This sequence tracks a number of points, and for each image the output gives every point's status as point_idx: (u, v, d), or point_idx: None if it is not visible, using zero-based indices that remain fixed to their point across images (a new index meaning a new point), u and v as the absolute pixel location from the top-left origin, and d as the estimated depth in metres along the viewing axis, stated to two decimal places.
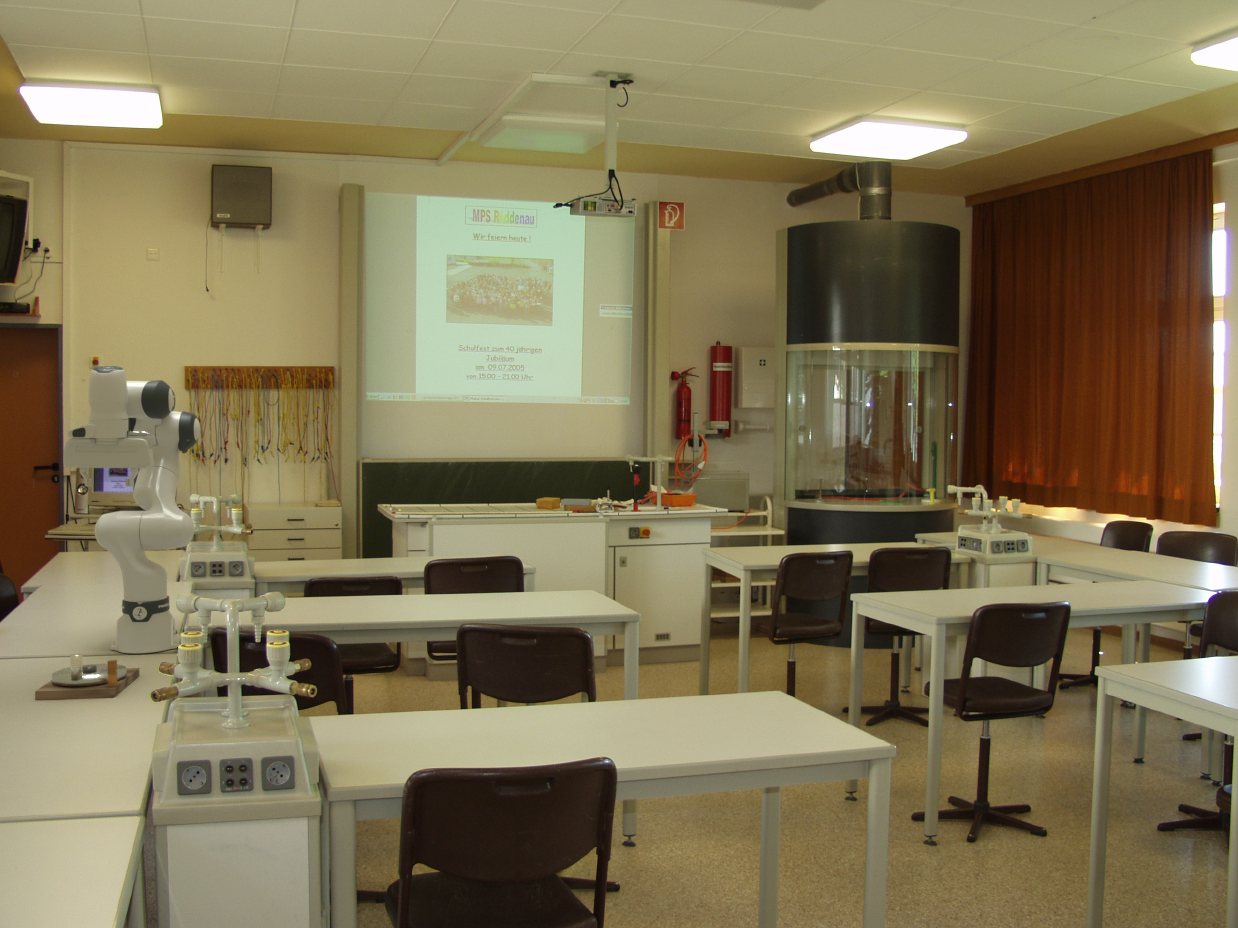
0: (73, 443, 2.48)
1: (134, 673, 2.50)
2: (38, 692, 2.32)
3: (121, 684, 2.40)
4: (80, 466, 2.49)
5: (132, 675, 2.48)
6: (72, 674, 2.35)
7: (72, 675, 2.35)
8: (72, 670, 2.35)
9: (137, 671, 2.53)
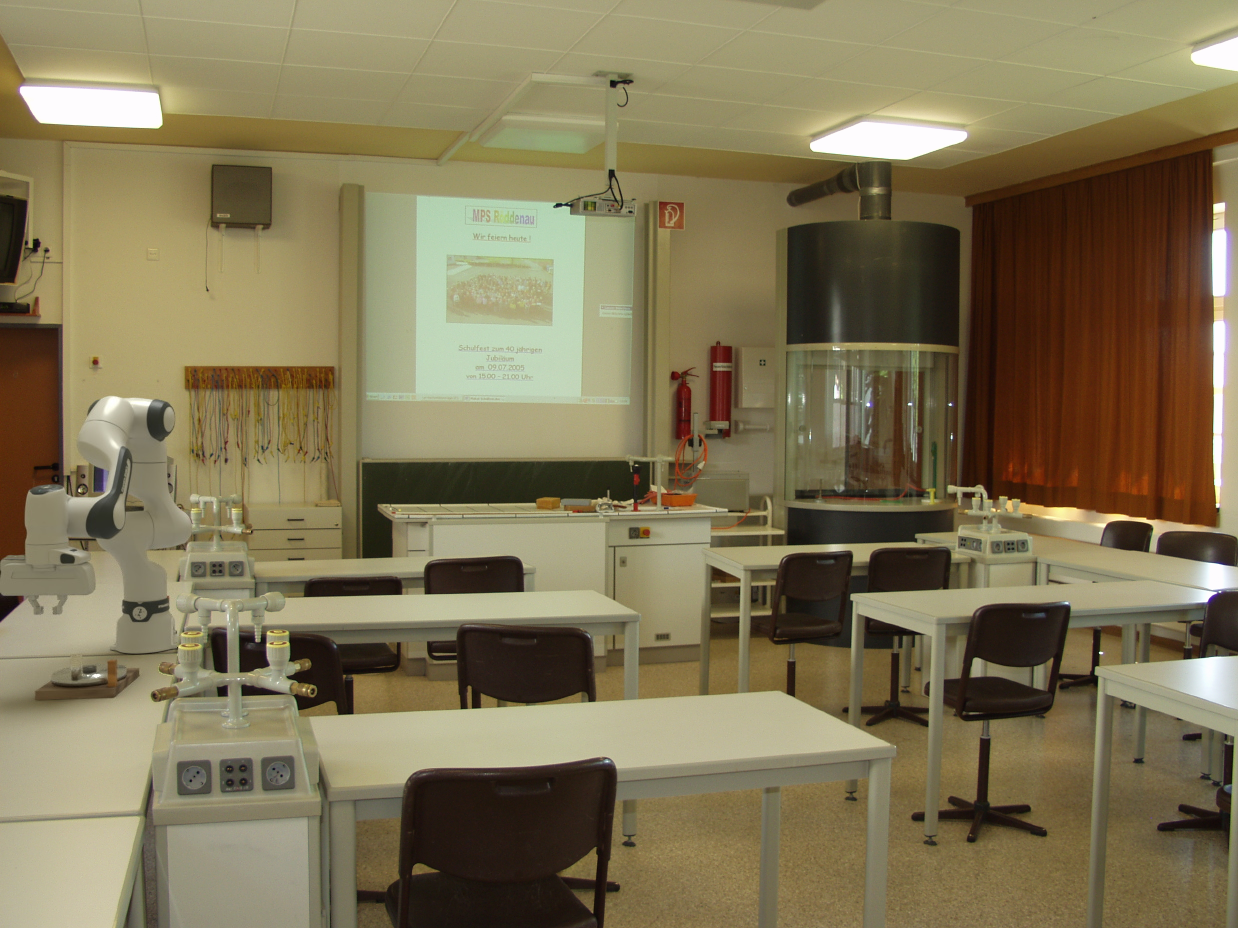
0: None
1: (134, 673, 2.50)
2: (38, 692, 2.32)
3: (121, 684, 2.40)
4: None
5: (132, 675, 2.48)
6: (72, 674, 2.35)
7: (72, 675, 2.35)
8: (72, 670, 2.35)
9: (137, 671, 2.53)
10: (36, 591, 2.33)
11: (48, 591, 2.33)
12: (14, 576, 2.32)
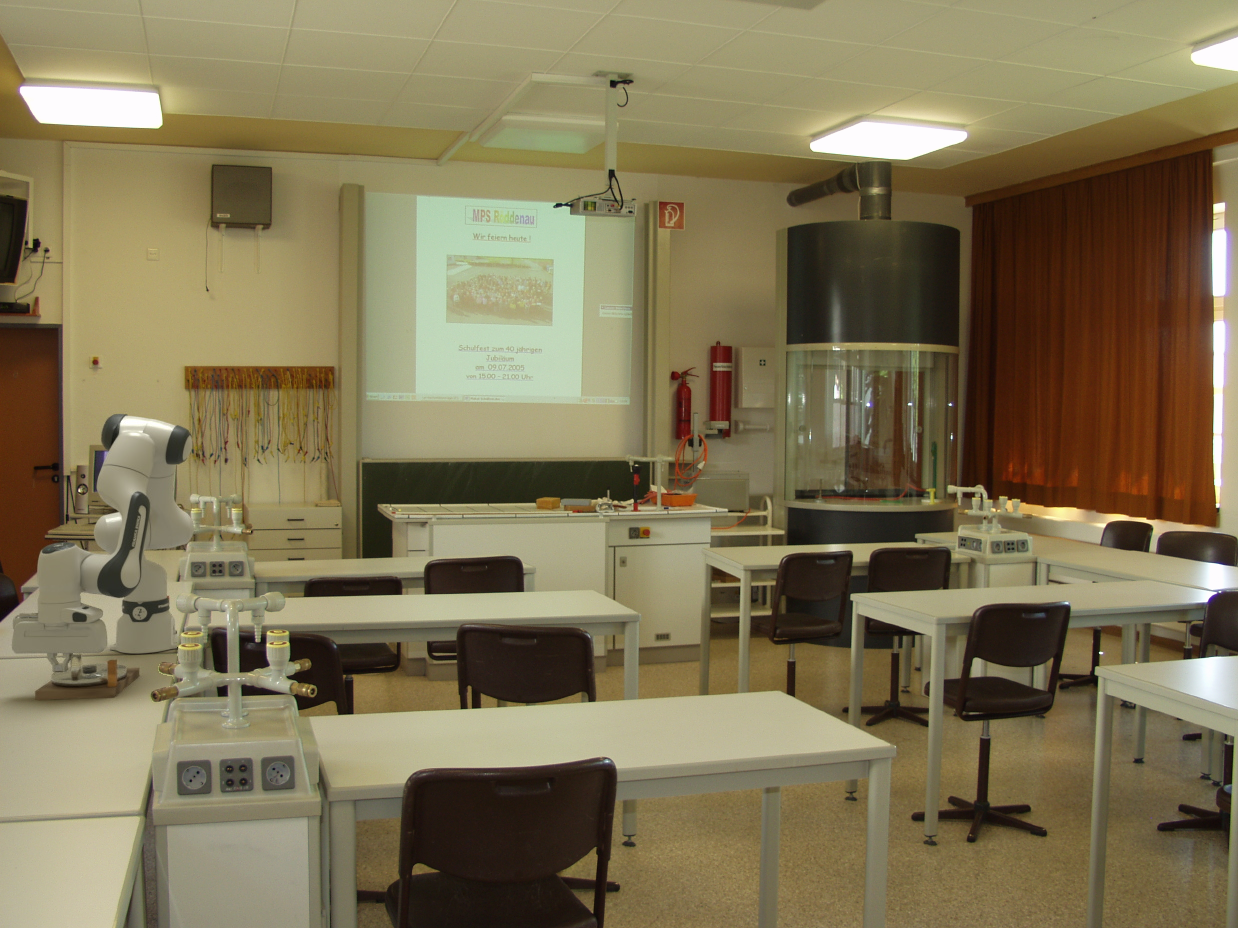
0: None
1: (134, 673, 2.50)
2: (38, 692, 2.32)
3: (121, 684, 2.40)
4: None
5: (132, 675, 2.48)
6: (72, 674, 2.35)
7: (72, 675, 2.35)
8: (72, 670, 2.35)
9: (137, 671, 2.53)
10: (48, 648, 2.33)
11: (60, 649, 2.34)
12: (26, 634, 2.33)
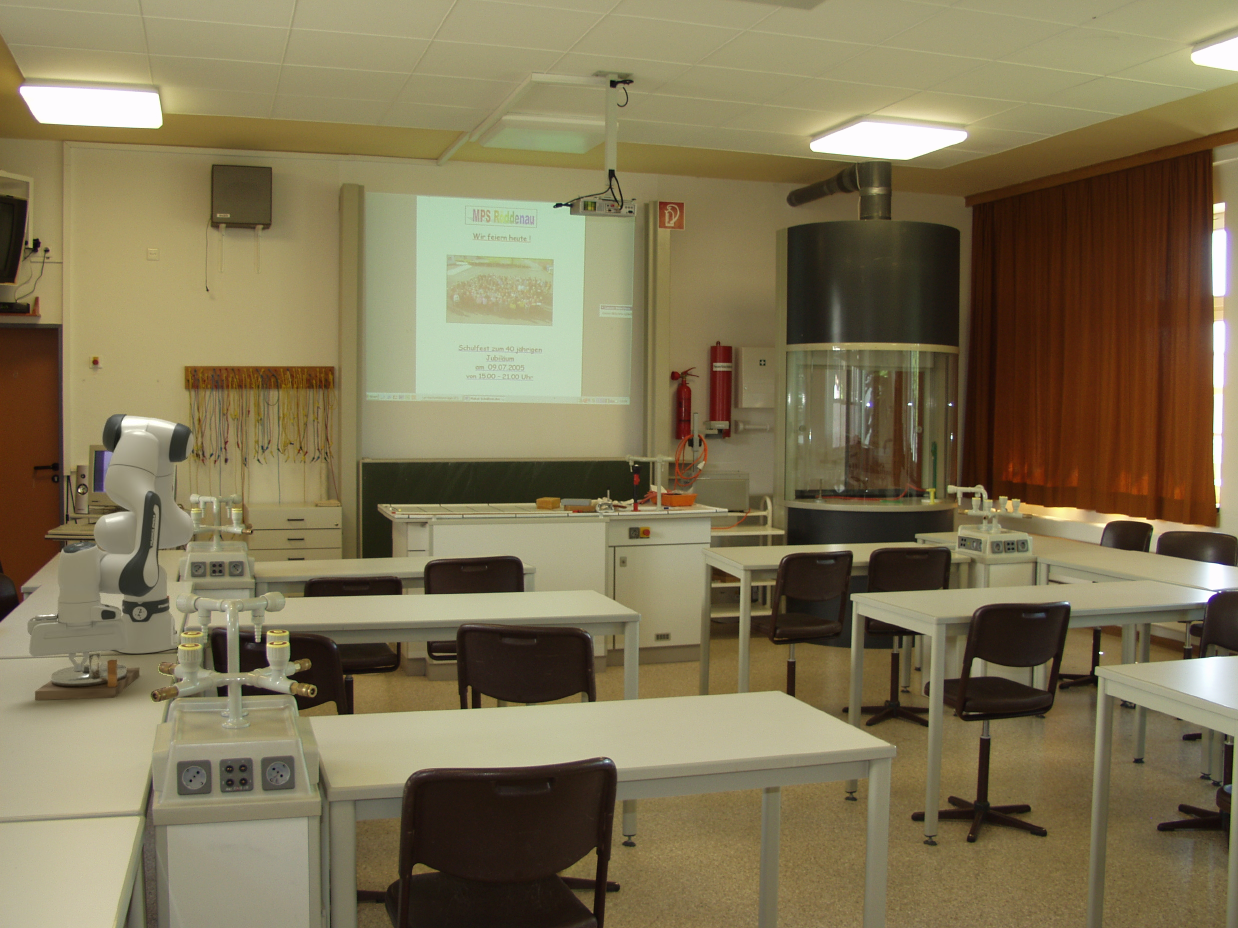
0: None
1: (134, 673, 2.50)
2: (38, 692, 2.32)
3: (121, 684, 2.40)
4: None
5: (132, 675, 2.48)
6: (93, 673, 2.36)
7: (93, 674, 2.36)
8: (93, 669, 2.36)
9: (137, 671, 2.53)
10: (71, 649, 2.33)
11: (84, 648, 2.34)
12: (46, 636, 2.30)
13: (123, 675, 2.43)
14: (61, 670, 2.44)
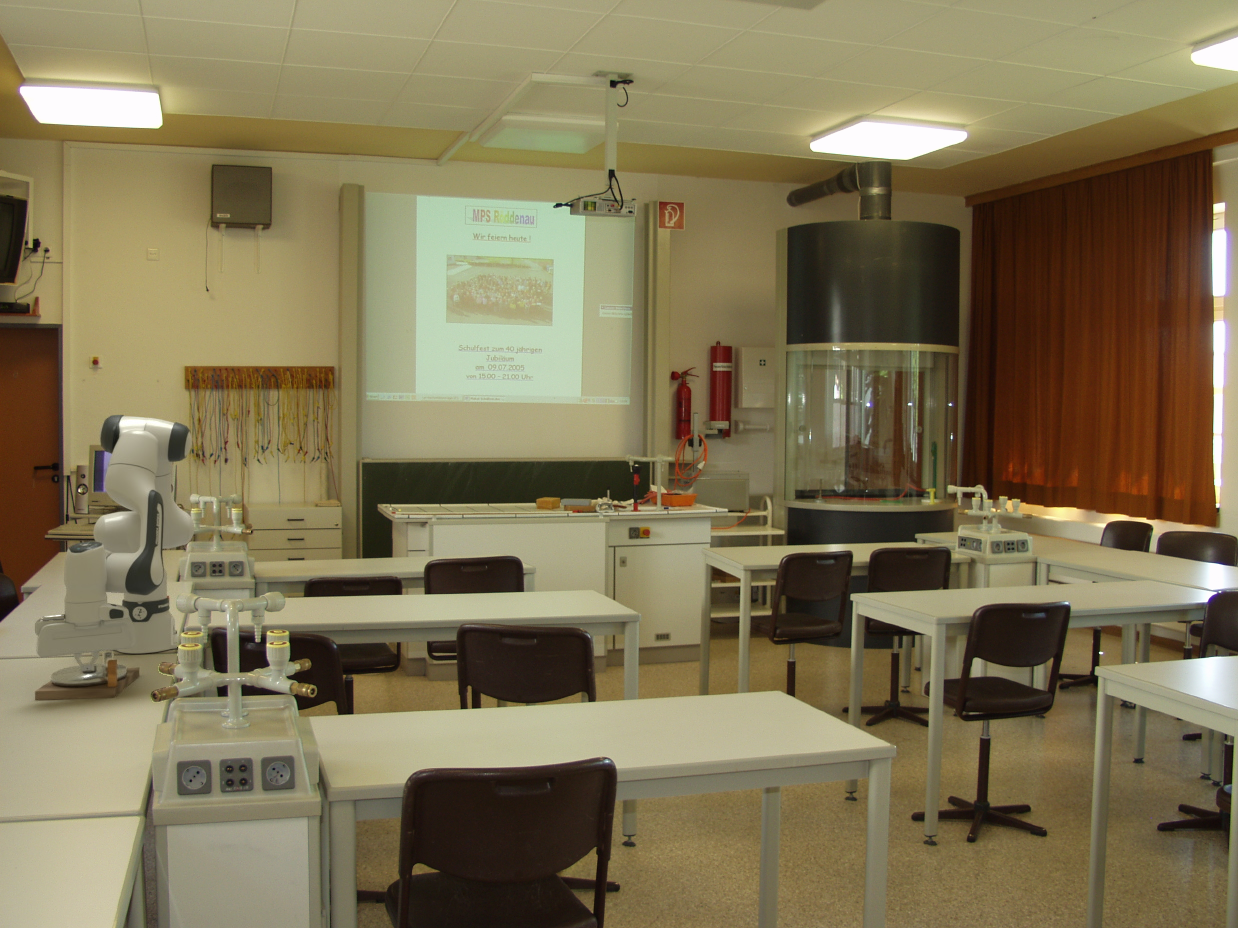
0: None
1: (134, 673, 2.50)
2: (38, 692, 2.32)
3: (121, 684, 2.40)
4: None
5: (132, 675, 2.48)
6: None
7: None
8: None
9: (137, 671, 2.53)
10: (79, 649, 2.32)
11: (92, 648, 2.34)
12: (54, 636, 2.29)
13: (126, 672, 2.47)
14: (55, 673, 2.41)
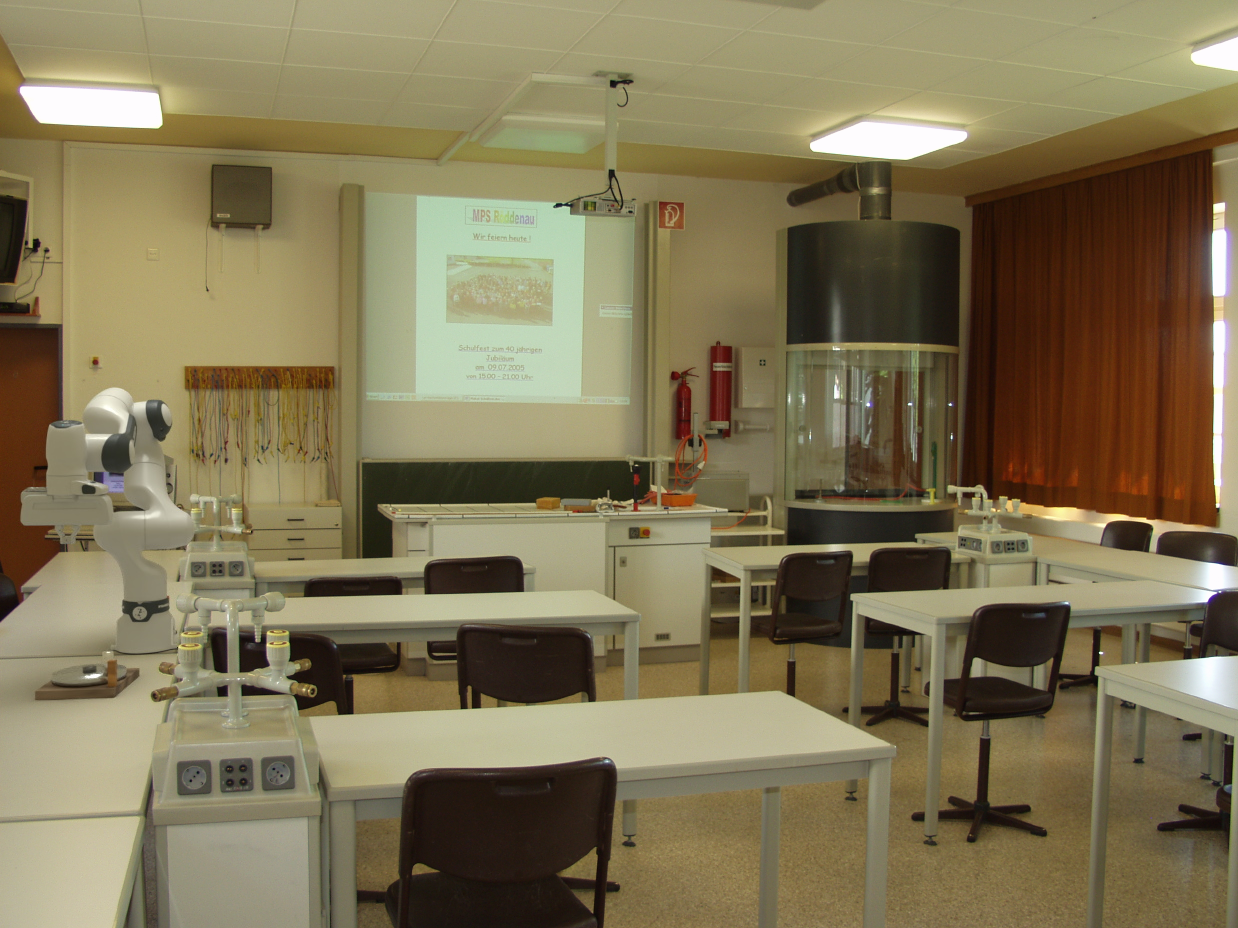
0: None
1: (134, 673, 2.50)
2: (38, 692, 2.32)
3: (121, 684, 2.40)
4: None
5: (132, 675, 2.48)
6: None
7: None
8: None
9: (137, 671, 2.53)
10: (57, 520, 2.44)
11: (69, 521, 2.44)
12: (35, 507, 2.43)
13: (126, 672, 2.47)
14: (55, 673, 2.41)
